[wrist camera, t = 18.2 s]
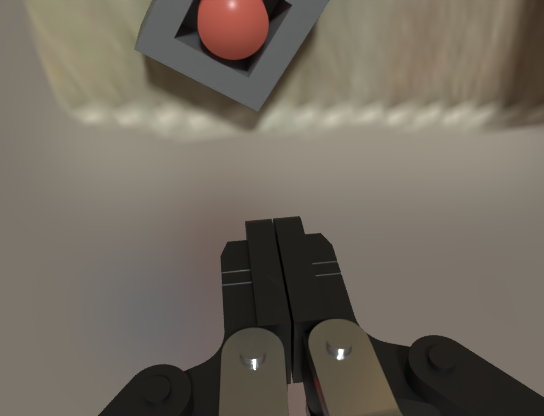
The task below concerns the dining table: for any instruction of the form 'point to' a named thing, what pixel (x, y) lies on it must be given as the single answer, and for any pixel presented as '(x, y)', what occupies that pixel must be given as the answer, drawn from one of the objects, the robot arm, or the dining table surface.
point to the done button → (232, 26)
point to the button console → (218, 71)
